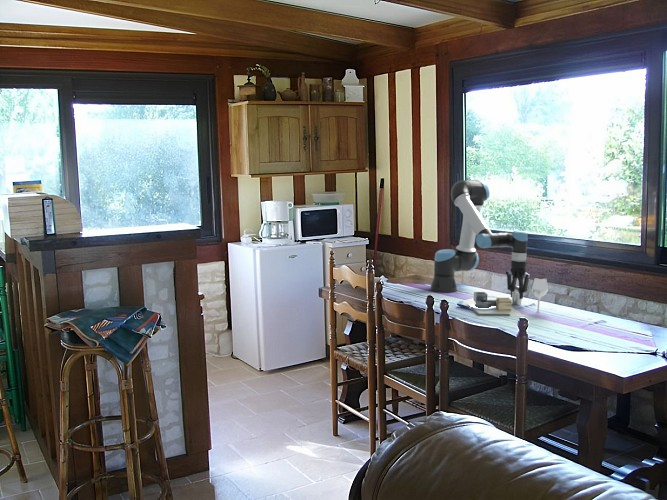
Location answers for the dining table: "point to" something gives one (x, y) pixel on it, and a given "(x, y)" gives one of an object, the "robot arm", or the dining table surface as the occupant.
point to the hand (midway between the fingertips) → (516, 304)
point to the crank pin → (516, 294)
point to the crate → (503, 304)
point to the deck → (496, 312)
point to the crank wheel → (483, 300)
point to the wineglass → (539, 288)
